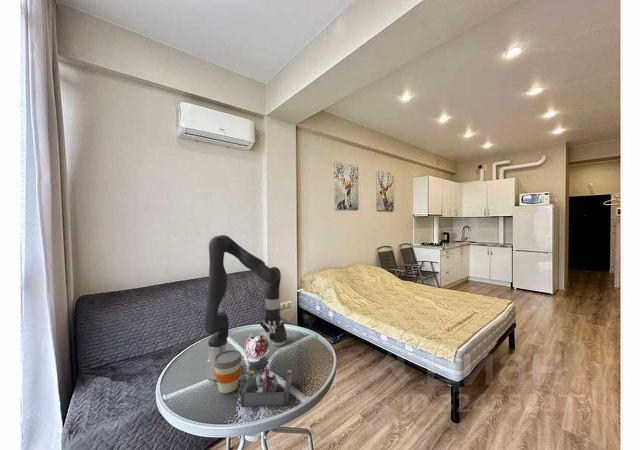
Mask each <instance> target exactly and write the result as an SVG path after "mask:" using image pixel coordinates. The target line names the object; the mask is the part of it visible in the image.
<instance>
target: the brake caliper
mask: <svg viewBox="0 0 640 450" xmlns="http://www.w3.org/2000/svg"><path fill="white" fill-rule="evenodd" d="M255 380H256V386H257V390H256V391H255V393H265V392H277V390H278V382H279V381H278V379H277V377H276V375H275V374H272V376H270V371H269V369H268V367H267V366H265V367H264V374H262V375H261V374H259V375H256V378H255Z"/></svg>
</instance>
